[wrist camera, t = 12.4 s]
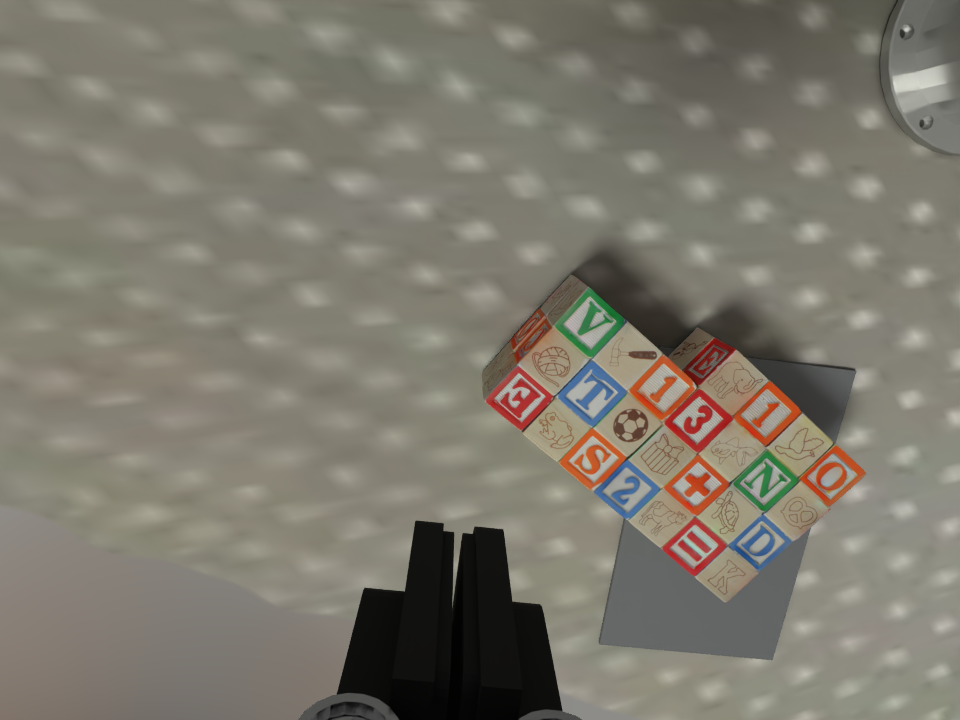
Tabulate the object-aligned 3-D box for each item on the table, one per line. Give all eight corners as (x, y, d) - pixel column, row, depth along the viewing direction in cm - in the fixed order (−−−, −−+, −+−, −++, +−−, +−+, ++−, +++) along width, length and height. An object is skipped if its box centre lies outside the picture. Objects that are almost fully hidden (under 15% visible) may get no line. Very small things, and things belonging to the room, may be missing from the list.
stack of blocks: (480, 403, 37) (624, 243, 34) (478, 374, 43) (600, 236, 41) (728, 605, 40) (872, 472, 38) (693, 552, 46) (816, 435, 44)
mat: (853, 369, 44) (856, 371, 43) (770, 657, 49) (772, 660, 49) (659, 346, 43) (660, 347, 42) (598, 641, 49) (599, 644, 48)
